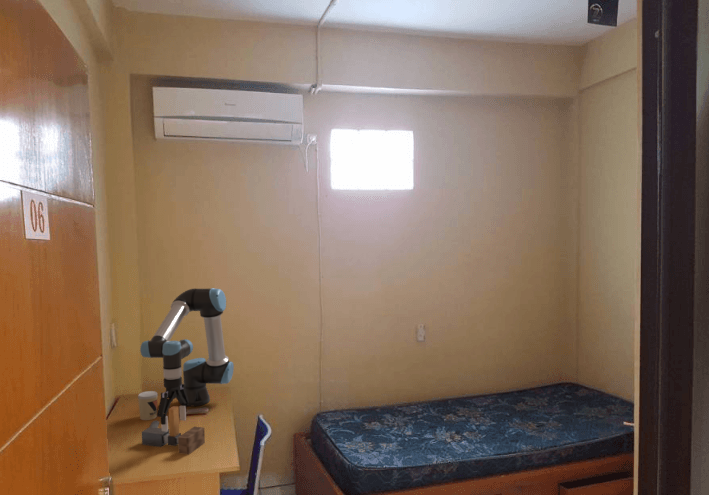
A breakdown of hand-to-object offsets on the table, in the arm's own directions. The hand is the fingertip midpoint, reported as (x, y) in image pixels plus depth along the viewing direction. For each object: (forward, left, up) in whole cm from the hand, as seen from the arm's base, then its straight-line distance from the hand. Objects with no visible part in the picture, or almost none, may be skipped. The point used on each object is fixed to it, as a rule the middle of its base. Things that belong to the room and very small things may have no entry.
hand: (174, 425), depth 234 cm
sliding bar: (0, -5, -8) cm, 9 cm away
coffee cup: (-26, -34, -9) cm, 44 cm away
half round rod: (-12, -21, -10) cm, 26 cm away
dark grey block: (0, -10, -9) cm, 13 cm away
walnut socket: (0, +9, -9) cm, 13 cm away
